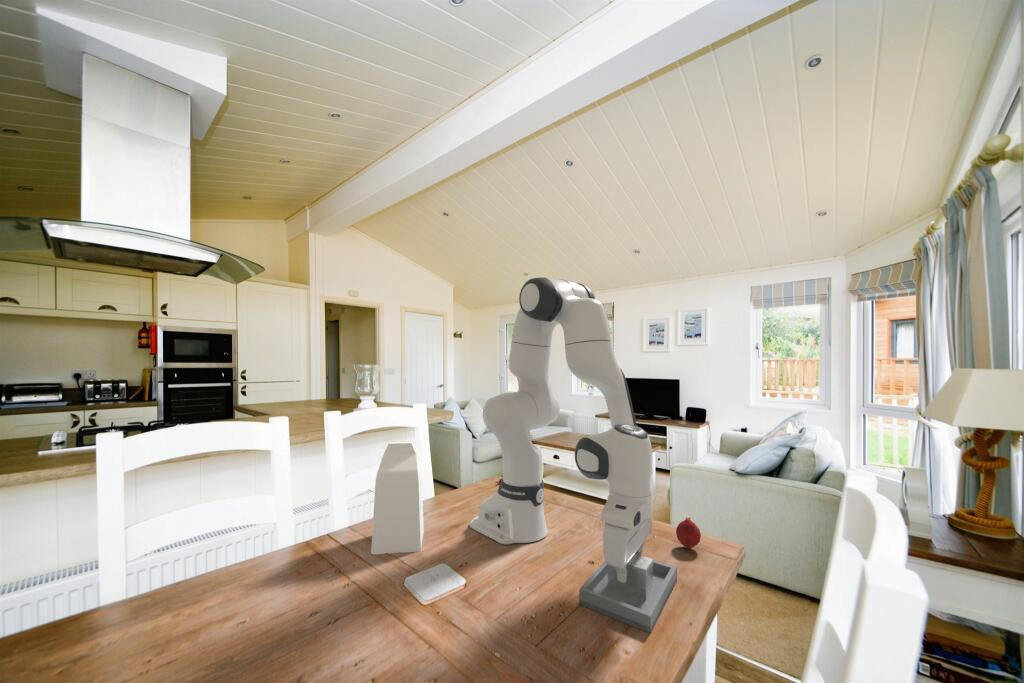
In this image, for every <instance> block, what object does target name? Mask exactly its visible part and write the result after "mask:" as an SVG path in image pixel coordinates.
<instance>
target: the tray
mask: <svg viewBox="0 0 1024 683" xmlns="http://www.w3.org/2000/svg"><path fill="white" fill-rule="evenodd" d="M677 582H678V568H677V566H674V565H672V564H667V563H664V562H661V561H658V560H654V559H653V590H652V591H651V593H650V595H649V596H648V598H647V600H644V599H641V598H638V597H636V596H633V595H630V594H627V593H625V592H622V591H619V590H616V589H614V588H611V587H608V564H607V563H606V562H605V560H604V561H603V562H602V563H601V564H599V567H597V569H596V570H595V571H594V572H593V573H592V574H591V575H590V577H589V578H588V579H586V581H585V582H584V583H583V584H582V586H581V587H580V588H579V589H578V590H579V592H578V593H579V594H578V595H579V596H578V599H579V600H578V605H580V606H581V607H584V608H587V609H590V610H592V611H594V612H596V613H599V614H602V615H604V616H607V617H610V618H612V619H614V620H616V621H619V622H622V623H623V624H627V625H629V626H630V627H634V628H637V629H639V630H642V631H644V632H647V633H649V634H651V633H652V631H653V630H654V627H655V626H656V624H657V622H658V620H659V617H660V615H661V613H662V612H663V609H664V608H665V607H666V603H667V602H668V600H669V597H670V596H671V593H672V591H673V589H674V588H675V586H676V584H677Z"/></svg>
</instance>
